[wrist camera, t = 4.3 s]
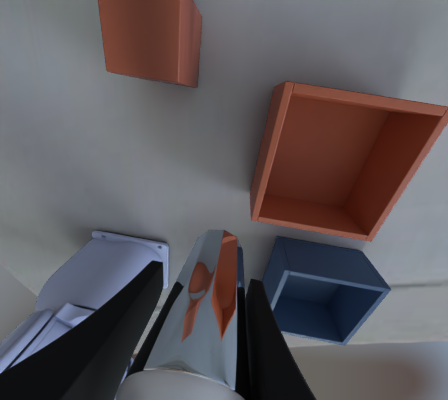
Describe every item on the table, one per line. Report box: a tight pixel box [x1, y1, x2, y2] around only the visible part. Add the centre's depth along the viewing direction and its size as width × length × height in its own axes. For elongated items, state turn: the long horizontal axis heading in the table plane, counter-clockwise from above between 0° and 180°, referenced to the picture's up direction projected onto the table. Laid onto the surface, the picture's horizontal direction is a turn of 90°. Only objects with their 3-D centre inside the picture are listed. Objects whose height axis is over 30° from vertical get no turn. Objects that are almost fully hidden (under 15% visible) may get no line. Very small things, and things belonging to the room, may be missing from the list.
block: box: [98, 0, 202, 88], centre depth 13 cm, size 4×4×5 cm
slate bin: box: [262, 236, 391, 345], centre depth 22 cm, size 10×10×5 cm
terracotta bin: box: [250, 81, 448, 242], centre depth 15 cm, size 10×10×5 cm
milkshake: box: [116, 230, 252, 400], centre depth 9 cm, size 4×5×10 cm
